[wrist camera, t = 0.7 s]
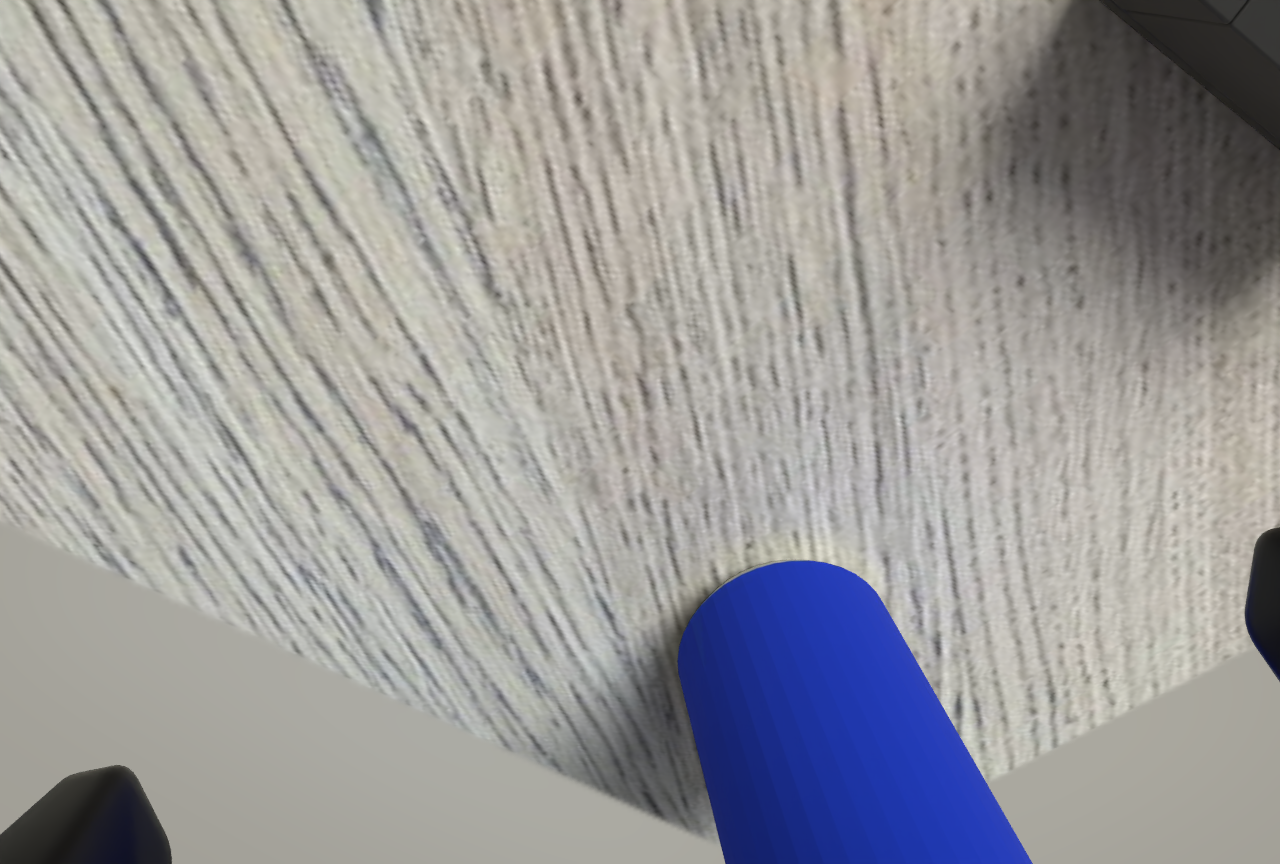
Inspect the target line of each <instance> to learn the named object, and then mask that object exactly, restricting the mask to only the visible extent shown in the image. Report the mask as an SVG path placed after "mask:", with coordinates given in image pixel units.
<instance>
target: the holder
mask: <svg viewBox="0 0 1280 864" xmlns="http://www.w3.org/2000/svg"><path fill="white" fill-rule="evenodd" d="M1100 1H1101V2H1102V3H1104V4H1105V5H1106V6H1107V7H1108V8H1110V9H1111V10H1112V11H1113V12H1114V13H1116V14H1117V15H1118V16H1119V17H1120V18H1122V19H1123V20H1124V21H1125V22H1126V23H1128V24H1129V25H1130V26H1131V27H1133V28H1134V29H1135V30H1136V31H1137V32H1139V33H1140V34H1141V35H1142V36H1143V37H1145V38H1146V39H1147V40H1148V41H1149V42H1151V43H1152V44H1153V45H1154V46H1155V47H1157V48H1158V49H1159V50H1160V51H1161V52H1163V53H1164V54H1165V55H1166V56H1168V57H1169V58H1170V59H1171V60H1172V61H1174V62H1175V63H1176V64H1177V65H1178V66H1180V67H1181V68H1182V69H1183V70H1184V71H1186V72H1187V73H1188V74H1189V75H1190V76H1192V77H1193V78H1194V79H1195V80H1196V81H1198V82H1199V83H1200V84H1201V85H1203V86H1204V87H1205V88H1206V89H1207V90H1209V91H1210V92H1211V93H1212V94H1213V95H1215V96H1216V97H1217V98H1218V99H1219V100H1221V101H1222V102H1223V103H1224V104H1225V105H1227V106H1228V107H1229V108H1230V109H1231V110H1233V111H1234V112H1235V113H1236V114H1238V115H1239V116H1240V117H1241V118H1242V119H1244V120H1245V121H1246V122H1247V123H1248V124H1250V125H1251V126H1252V127H1253V128H1254V129H1256V130H1257V131H1258V132H1259V133H1260V134H1262V135H1263V136H1264V137H1265V138H1266V139H1268V140H1269V141H1270V142H1271V143H1273V144H1274V145H1275V146H1276V147H1277V148H1279V149H1280V0H1100Z"/></svg>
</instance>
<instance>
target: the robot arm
mask: <svg viewBox="0 0 1280 864" xmlns="http://www.w3.org/2000/svg"><path fill="white" fill-rule="evenodd" d="M1245 621H1246V626H1247V630H1248V633H1249V635H1250V637H1251V640H1252V641H1253V643H1254V645H1255V647H1256V648H1257V649H1258V651H1259V652H1260V654H1261V655H1262V656H1263V658H1264V660H1265V661H1266V662H1267V664H1268V665H1269V667H1270V668H1271V669H1272V671H1273V673H1274V674H1275V675H1276V677H1277V678H1278V680H1279V681H1280V527H1279V528H1274V529H1270V530H1268V531H1266V532H1264V533H1263V534H1262V535H1261V536H1260V537H1259V539H1258V540H1257V542H1256V544H1255V548H1254V554H1253V560H1252V567H1251V573H1250V580H1249V586H1248V592H1247V599H1246V605H1245ZM0 864H172V857H171V849H170V845H169V841H168V839H167V836H166V834H165V832H164V830H163V828H162V826H161V824H160V822H159V820H158V818H157V816H156V814H155V812H154V810H153V808H152V806H151V804H150V802H149V800H148V798H147V796H146V794H145V792H144V790H143V788H142V786H141V784H140V782H139V780H138V779H137V777H136V775H135V774H134V772H132V771H131V770H130V769H129V768H127V767H125V766H120V765H114V766H109V767H105V768H99V769H94V770H89V771H85V772H80V773H76V774H73V775H70V776H68V777H66V778H64V779H63V780H62V781H61V782H59V783H58V784H57V785H56V786H55V787H54V788H53V789H51V790H50V791H49V792H48V793H47V794H46V795H45V796H44V797H42V798H41V799H40V800H39V801H38V802H37V803H36V804H34V805H33V806H32V807H31V808H30V809H29V810H28V811H27V812H25V813H24V814H23V815H22V816H21V817H20V818H19V819H18V820H16V821H15V822H14V823H13V824H12V825H11V826H10V827H9V828H7V829H6V830H5V831H4V832H3V833H2V834H1V835H0Z"/></svg>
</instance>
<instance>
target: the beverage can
mask: <svg viewBox="0 0 1280 864" xmlns="http://www.w3.org/2000/svg"><path fill="white" fill-rule="evenodd" d="M678 673H679V678H680V682H681V686H682V690H683V694H684V698H685V702H686V706H687V710H688V714H689V718H690V722H691V726H692V730H693V734H694V738H695V742H696V746H697V750H698V755H699V759H700V763H701V767H702V771H703V775H704V779H705V783H706V787H707V791H708V795H709V799H710V803H711V807H712V811H713V815H714V819H715V823H716V827H717V831H718V835H719V839H720V843H721V847H722V851H723V855H724V859H725V863H726V864H1033V863H1032V862H1031V860H1030V859H1029V856H1028V855H1027V853H1026V851H1025V850H1024V848H1023V846H1022V844H1021V843H1020V841H1019V839H1018V838H1017V836H1016V834H1015V832H1014V831H1013V829H1012V827H1011V825H1010V823H1009V822H1008V820H1007V819H1006V817H1005V815H1004V813H1003V812H1002V810H1001V808H1000V806H999V804H998V802H997V801H996V799H995V797H994V796H993V794H992V792H991V790H990V789H989V787H988V785H987V783H986V782H985V780H984V778H983V776H982V775H981V773H980V771H979V769H978V768H977V766H976V764H975V762H974V761H973V759H972V757H971V755H970V754H969V752H968V750H967V748H966V747H965V745H964V743H963V741H962V740H961V738H960V736H959V734H958V733H957V731H956V729H955V728H954V726H953V724H952V722H951V721H950V719H949V717H948V715H947V714H946V712H945V710H944V708H943V707H942V705H941V703H940V701H939V700H938V698H937V696H936V694H935V693H934V691H933V689H932V687H931V686H930V684H929V682H928V680H927V679H926V677H925V675H924V673H923V672H922V670H921V668H920V666H919V665H918V663H917V661H916V660H915V658H914V656H913V654H912V653H911V651H910V649H909V647H908V646H907V644H906V642H905V640H904V639H903V637H902V635H901V633H900V632H899V630H898V628H897V626H896V625H895V623H894V621H893V619H892V618H891V616H890V614H889V612H888V611H887V609H886V607H885V605H884V604H883V602H882V601H881V599H880V597H879V596H878V594H877V593H876V591H875V590H874V589H873V588H872V587H871V586H870V585H869V584H868V583H867V582H866V581H864V580H863V579H862V578H860V577H859V576H857V575H856V574H854V573H852V572H850V571H848V570H846V569H844V568H842V567H839V566H835V565H832V564H828V563H824V562H817V561H809V560H781V561H774V562H769V563H765V564H761V565H758V566H755V567H752V568H750V569H748V570H745V571H743V572H741V573H739V574H737V575H736V576H734V577H732V578H730V579H729V580H727V581H726V582H725V583H724V584H722V585H721V586H720V587H718V588H717V589H716V590H715V591H714V592H713V593H712V594H711V595H710V596H709V597H708V598H707V599H706V600H705V601H704V602H703V603H702V605H701V606H700V607H699V608H698V610H697V611H696V612H695V614H694V615H693V616H692V618H691V619H690V621H689V623H688V625H687V627H686V629H685V631H684V633H683V636H682V639H681V643H680V646H679V653H678Z"/></svg>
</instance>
